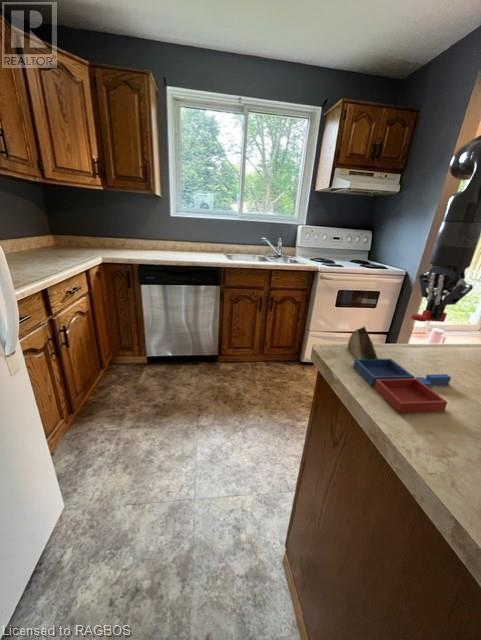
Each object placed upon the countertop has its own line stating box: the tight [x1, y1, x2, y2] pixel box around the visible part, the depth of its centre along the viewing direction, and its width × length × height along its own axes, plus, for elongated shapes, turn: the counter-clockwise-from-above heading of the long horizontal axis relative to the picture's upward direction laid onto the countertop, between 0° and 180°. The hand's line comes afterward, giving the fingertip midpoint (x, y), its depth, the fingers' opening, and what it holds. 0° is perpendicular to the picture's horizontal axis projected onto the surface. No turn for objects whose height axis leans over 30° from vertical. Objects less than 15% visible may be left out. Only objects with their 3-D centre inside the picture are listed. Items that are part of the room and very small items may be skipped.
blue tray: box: [353, 358, 415, 387], centre depth 68 cm, size 10×9×2 cm
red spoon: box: [410, 309, 448, 323], centre depth 65 cm, size 8×3×2 cm, turn 95°
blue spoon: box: [415, 373, 452, 388], centre depth 65 cm, size 8×3×2 cm, turn 96°
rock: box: [347, 325, 378, 359], centre depth 76 cm, size 11×9×10 cm
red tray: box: [373, 377, 448, 414], centre depth 59 cm, size 10×9×2 cm
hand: (431, 318), depth 65 cm, fingers closed on red spoon, 1 cm apart
